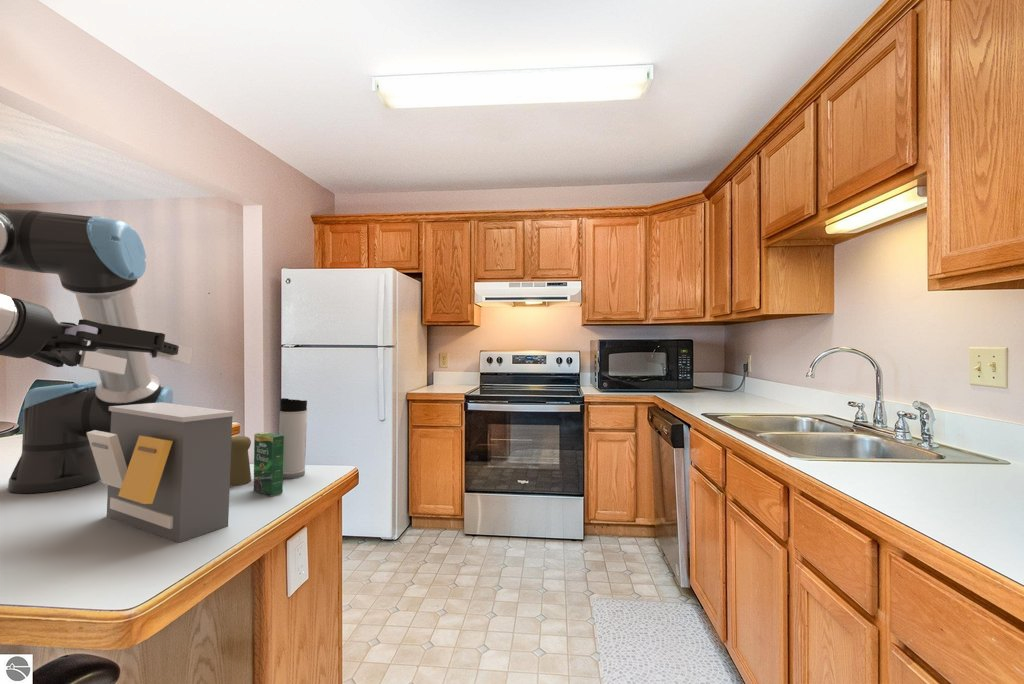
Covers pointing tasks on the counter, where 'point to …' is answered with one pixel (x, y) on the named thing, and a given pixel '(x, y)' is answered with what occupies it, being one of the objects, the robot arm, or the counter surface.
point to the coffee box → (268, 463)
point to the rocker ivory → (108, 457)
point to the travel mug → (293, 436)
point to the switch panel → (177, 468)
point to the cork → (240, 461)
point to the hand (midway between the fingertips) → (156, 361)
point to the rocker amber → (145, 469)
